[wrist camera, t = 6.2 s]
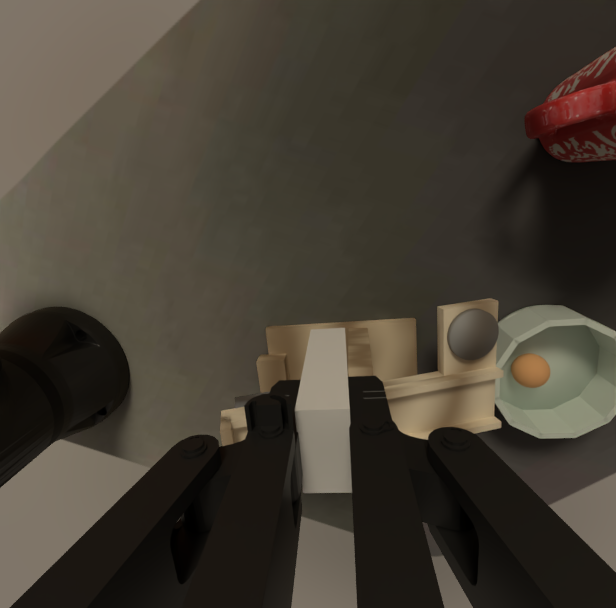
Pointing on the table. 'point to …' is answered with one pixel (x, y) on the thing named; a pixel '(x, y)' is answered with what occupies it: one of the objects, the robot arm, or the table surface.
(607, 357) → the bowl
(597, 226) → the table surface
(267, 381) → the stand
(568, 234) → the table surface
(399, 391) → the lever
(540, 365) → the ball
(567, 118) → the mug
